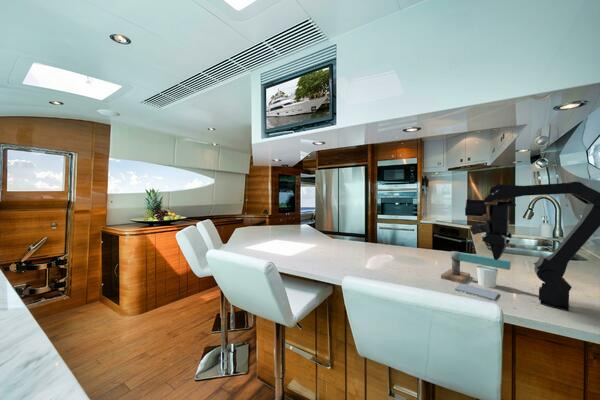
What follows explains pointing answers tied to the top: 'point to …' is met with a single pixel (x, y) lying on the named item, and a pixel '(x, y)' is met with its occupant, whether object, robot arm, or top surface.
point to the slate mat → (477, 291)
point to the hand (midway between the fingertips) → (497, 258)
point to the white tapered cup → (487, 276)
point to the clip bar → (481, 260)
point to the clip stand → (455, 273)
